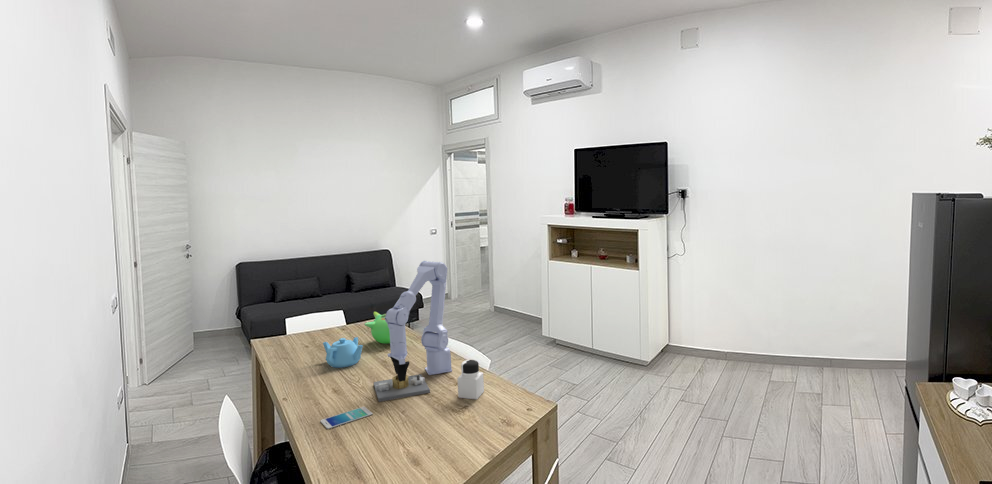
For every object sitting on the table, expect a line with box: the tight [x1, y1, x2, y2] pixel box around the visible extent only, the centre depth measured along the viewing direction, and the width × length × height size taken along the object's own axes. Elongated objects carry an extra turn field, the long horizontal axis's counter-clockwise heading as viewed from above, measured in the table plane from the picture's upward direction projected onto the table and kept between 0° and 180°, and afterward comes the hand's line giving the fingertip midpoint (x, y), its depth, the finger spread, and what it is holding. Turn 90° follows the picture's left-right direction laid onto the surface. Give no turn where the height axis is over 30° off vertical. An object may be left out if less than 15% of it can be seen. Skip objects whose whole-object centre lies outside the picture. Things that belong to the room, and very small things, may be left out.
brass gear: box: [391, 374, 409, 389], centre depth 178 cm, size 6×6×3 cm
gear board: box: [373, 373, 431, 403], centre depth 179 cm, size 18×16×4 cm
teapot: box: [322, 336, 364, 369], centre depth 209 cm, size 15×15×11 cm
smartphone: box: [320, 406, 373, 430], centre depth 157 cm, size 7×1×15 cm
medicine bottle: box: [456, 359, 485, 400], centre depth 171 cm, size 7×7×12 cm
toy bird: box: [364, 311, 390, 345], centre depth 234 cm, size 18×17×15 cm
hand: (400, 377), depth 178 cm, fingers open, 7 cm apart
